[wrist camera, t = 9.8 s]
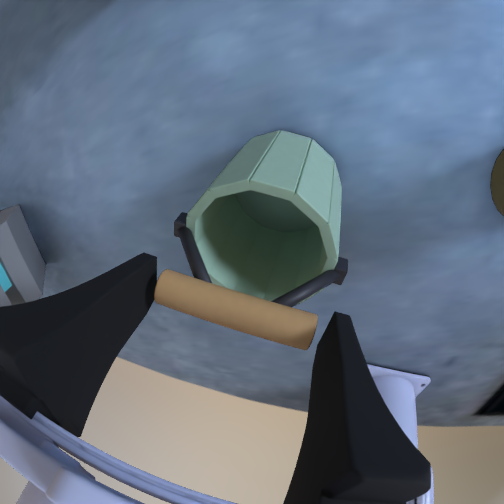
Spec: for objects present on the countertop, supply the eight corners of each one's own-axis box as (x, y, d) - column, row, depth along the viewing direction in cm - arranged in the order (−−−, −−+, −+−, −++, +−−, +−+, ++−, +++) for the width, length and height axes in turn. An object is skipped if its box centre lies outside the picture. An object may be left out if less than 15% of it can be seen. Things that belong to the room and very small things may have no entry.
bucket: (331, 245, 22) (310, 394, 13) (216, 212, 22) (138, 338, 14) (364, 154, 17) (381, 291, 9) (228, 118, 18) (116, 213, 9)
